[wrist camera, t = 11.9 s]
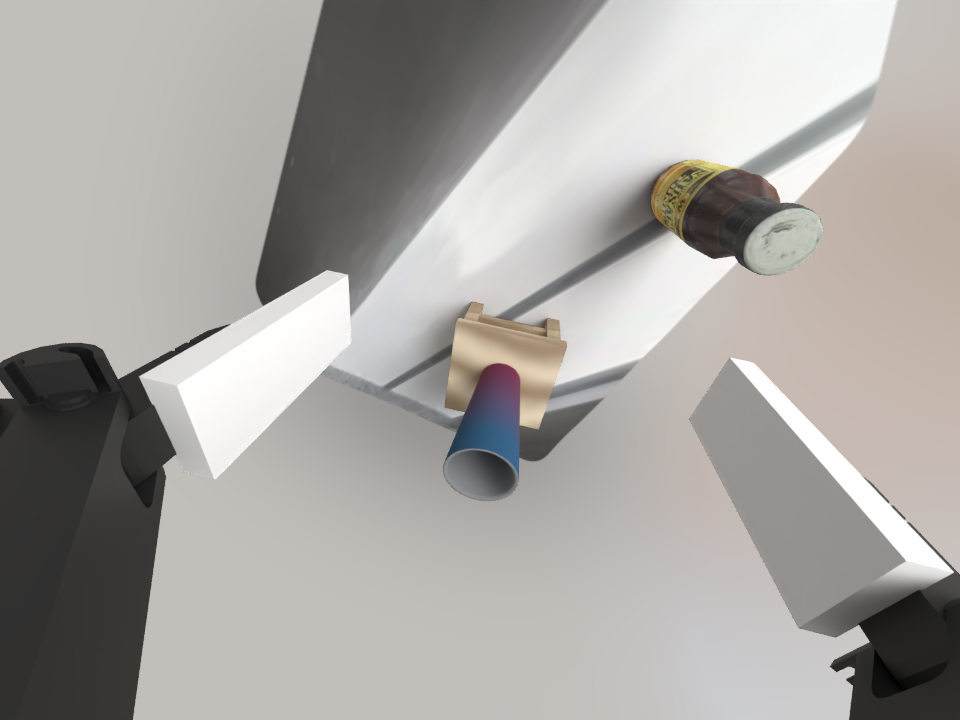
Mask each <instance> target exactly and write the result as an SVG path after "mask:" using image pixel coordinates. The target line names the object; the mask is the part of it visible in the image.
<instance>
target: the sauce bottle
mask: <svg viewBox="0 0 960 720" xmlns="http://www.w3.org/2000/svg"><path fill="white" fill-rule="evenodd" d="M651 209H652V211H653V213H654V215H655V217H656V218H657V219H658V220H659V221H660V222H661V223H662V224H663V225H665V226H666V227H667V228H668V229H670V230H671V231H672V232H673V233H674V234H676V235H677V236H678V237H679V238H680V239H681V240H683V241H684V242H685V243H686V244H687V245H688V246H690V247H692V248H694V249H696V250H697V251H699V252H701V253H703V254H705V255H707V256H708V257H710V258H712V259H717V258H723V257H730V256H735V258H736V259H737V261H738V262H739V263H740V264H741V265H742V266H744V267H745V268H747V269H749V270H751V271H752V272H754V273H757V274H759V275H777V274H781V273H784V272H787V271H789V270H793V269H794V268H795V267H797V266H799V265H801V264H802V263H803V262H804V261H806V260H807V259H808V258H809V257H810V256H811V255H812V254H813V252H814V251H815V249H816V247H817V246H818V244H819V243H820V241H821V238H822V234H823V225H822V223H821V219H820V218H819V217H818V216H817V214H816V213H815V212H813V211H812V210H810V209H808V208H806V207H804V206H802V205H799V204H794V203H780V198H779V196H778V193H777V190H776V189H775V188H774V187H773V186H772V185H771V184H770V183H768V181H767V180H766V179H764V178H762V177H761V176H759V175H756V174H751V173H749V172H747V171H745V170H741V169H737V168H733V167H728V166H724V165H720V164H715V163H710V162H706V161H702V160H686V161H683V162H679V163H677V164H675V165H672V166H670V167H669V168H667V169H666V170H665V171H664V172H663V173H662V175H661V176H660V177H659V178H658V179H657V180H656V182H655V185H654V186H653V188H652V192H651Z"/></svg>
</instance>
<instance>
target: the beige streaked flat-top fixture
mask: <svg viewBox="0 0 960 720" xmlns="http://www.w3.org/2000/svg"><path fill="white" fill-rule="evenodd" d="M482 310H483V304H480V303H476V302H472V303H471V305H470V307H469V309H468V311H467V313H466V315H465V317H464V319H462V318H458V320H457V322H456V327H455V334H454V341H453V349H452V356H451V363H450V371H449V378H448V385H447V393H446V400H445V408H449V409H454V410H458V411H462V412H466V409H467V407H468V404H469V402H470V400H471V397H472V395H473V392H474V390H475V388H476V385H477V383H478V380H479V378H480V376H481V373H482V371H483V370H484V369H485V368H486V367H487V366H489V365H491V364H496V363H502V364H506V365H509V366H511V367H512V368H514V369H515V370H516V371H517V373H518V374H519V376H520V425H522V426H526V427H531V428H535V429H539V426H540V423H541V420H542V417H543V415H544V412H545V409H546V406H547V403H548V400H549V397H550V394H551V392H552V389H553V386H554V383H555V380H556V377H557V374H558V371H559V368H560V366H561V363H562V360H563V357H564V354H565V351H566V348H567V344H566V341H562V340H560V326H559V320H554V319H550V318H547V321H546V324H545V328H540V327H536V326H531V325H527V324H522V323H518V322H513V321H508V320H504V319H499V318H495V317H490V316H485V315H482Z"/></svg>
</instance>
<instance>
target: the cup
mask: <svg viewBox="0 0 960 720" xmlns="http://www.w3.org/2000/svg"><path fill="white" fill-rule="evenodd" d="M519 433H520V376H519V374H518V373H517V371H516V370H515V369H514V368H512V367H511V366H509V365H506V364H502V363H496V364H491V365H489V366H487V367H486V368H485V369H484V370H483V371H482V373H481V376H480V378H479V380H478V383H477V385H476V388H475V390H474V392H473V395H472V397H471V400H470V402H469V404H468V407H467V409H466V412H465V414H464V416H463V419H462V421H461V424H460V426H459V428H458V431H457V433H456V436H455V438H454V440H453V443H452V446H451V448H450V450H449V452H448V455H447V458H446V460H445V462H444V465H443V473H444V477H445V479H446V481H447V482H448V484H449V485H450V486H451V487H452V488H453V489H454V490H455V491H457V492H459V493H460V494H462V495H464V496H466V497H469V498H472V499H476V500H480V501H496V500H500V499H503V498H506V497H508V496H509V495H511V494H512V493H513V492H514V491H515V489H516V488H517V486H518V481H519Z"/></svg>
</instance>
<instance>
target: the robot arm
mask: <svg viewBox="0 0 960 720" xmlns="http://www.w3.org/2000/svg"><path fill="white" fill-rule="evenodd" d="M350 343H351V324H350V304H349V284H348V275H347V274H342V273H337V272H333V271H328V270H327V271H325V272H323V273H321V274H320V275H318V276H316V277H314V278H313V279H311V280H309V281H307V282H305V283H304V284H302V285H300V286H298V287H297V288H295V289H293V290H291V291H290V292H288V293H286V294H284V295H282V296H281V297H279V298H277V299H275V300H274V301H272V302H270V303H268V304H267V305H265V306H263V307H261V308H259V309H258V310H256V311H254V312H252V313H251V314H249V315H247V316H245V317H244V318H242V319H240V320H238V321H236V322H235V323H233V324H229V325H225V326H222V327H219V328H215V329H212V330H209V331H206V332H204V333H203V334H201V335H199V336H197V337H195V338H194V339H192V340H190V342H189V343H184V344H182V345H181V346H179V347H177V348H175V351H170V352H168V353H166V354H164V355H162V356H160V357H159V358H157V359H155V360H153V361H151V362H149V363H148V364H146V365H144V366H142V367H140V368H138V369H137V370H135V371H133V372H131V373H129V374H127V375H126V376H124V377H122V378H120V379H117V377H116V375H115V373H114V371H113V369H112V367H111V365H110V363H109V361H108V359H107V357H106V355H105V353H104V351H103V350H102V349H100V348H99V347H97V346H95V345H91V344H84V343H65V344H64V343H63V344H57V345H50V346H44V347H39V348H36V349H32V350H29V351H25V352H22V353H19V354H17V355H15V356H12V357H10V358H8V359H6V360H3V361H2V362H1V363H0V381H1V382H2V383H3V385H4V386H5V388H6V389H7V390H8V392H9V393H10V394H11V396H12V397H13V398H14V399H0V720H133V713H134V706H135V699H136V692H137V685H138V678H139V670H140V663H141V656H142V647H143V641H144V634H145V626H146V619H147V612H148V604H149V597H150V590H151V582H152V575H153V568H154V560H155V553H156V546H157V538H158V531H159V523H160V516H161V509H162V502H163V495H164V487H165V480H166V475H165V471H164V468H163V465H164V464H165V463H166V462H167V461H169V460H170V459H171V458H172V457H173V456H175V455H176V456H177V459H178V461H179V463H180V465H181V467H182V469H183V472H185V473H189V474H193V475H197V476H201V477H205V478H209V479H213V480H215V479H216V478H217V477H218V476H219V475H220V474H221V473H222V472H223V471H224V470H225V469H226V468H227V467H228V466H229V465H230V464H231V463H232V462H233V461H234V460H235V459H236V458H237V457H238V456H239V455H240V454H241V453H242V452H243V451H244V450H245V449H246V448H247V447H248V446H249V445H250V444H251V443H252V442H253V441H254V440H255V439H256V438H257V437H258V436H259V435H260V434H261V433H262V432H263V431H264V430H265V429H266V428H267V427H268V426H269V425H270V424H271V423H272V422H273V421H274V420H275V419H276V418H277V417H278V416H279V415H280V414H281V413H282V412H283V411H284V410H285V409H286V408H287V407H288V406H289V405H290V404H291V403H292V402H293V401H294V400H295V399H296V398H297V397H298V396H299V395H300V394H301V393H302V392H303V391H304V390H305V389H306V388H307V387H308V386H309V385H310V384H311V383H312V382H313V381H314V380H315V379H316V378H317V377H318V376H319V375H320V374H321V373H322V372H323V371H324V370H325V369H326V368H327V367H328V366H329V365H330V364H331V363H332V362H333V361H334V360H335V359H336V358H337V357H338V356H339V355H340V354H341V353H342V352H343V351H344V350H345V349H346V347H347V346H348V345H349V344H350ZM689 420H690V422H691V424H692V426H693V428H694V429H695V431H696V433H697V435H698V437H699V439H700V441H701V443H702V445H703V447H704V448H705V451H706V452H707V454H708V456H709V458H710V460H711V462H712V464H713V466H714V468H715V470H716V472H717V473H718V475H719V477H720V479H721V481H722V483H723V485H724V487H725V489H726V491H727V493H728V495H729V496H730V498H731V500H732V502H733V504H734V506H735V508H736V510H737V512H738V514H739V516H740V517H741V519H742V521H743V523H744V525H745V527H746V529H747V531H748V533H749V535H750V537H751V539H752V540H753V542H754V544H755V546H756V548H757V550H758V552H759V554H760V556H761V557H762V559H763V561H764V563H765V565H766V567H767V569H768V571H769V573H770V575H771V577H772V578H773V580H774V582H775V584H776V586H777V588H778V590H779V592H780V594H781V596H782V598H783V600H784V602H785V603H786V605H787V607H788V609H789V611H790V613H791V615H792V617H793V619H794V621H795V622H796V624H797V626H798V628H800V629H804V630H808V631H812V632H816V633H820V634H824V635H828V636H832V637H838V636H839V635H841V634H843V633H844V632H847V631H848V630H850V629H852V628H854V627H856V626H857V625H860V627H861V629H862V630H863V632H864V633H865V635H866V636H867V638H868V639H869V641H870V642H869V643H867V644H865V645H864V646H861V647H859V648H857V649H855V650H853V651H851V652H850V653H847V654H845V655H843V656H842V657H839V658H838V659H835V660H834V661H833V663H832V664H831V666H830V667H831V668H832V669H834V670H835V671H836V672H838V671H839V670H842V669H844V668H846V667H852V668H855V675H854V676H852V677H850V678H847V679H846V680H847V681H848V682H849V683H850V684H852V685H853V691H852V700H851V709H850V717H849V720H960V574H959V573H958V572H957V571H956V570H955V569H954V568H953V567H952V566H951V565H950V564H949V563H948V562H947V561H946V560H945V559H944V558H943V557H942V556H941V555H940V554H939V553H938V551H937V550H936V549H935V548H934V547H933V546H932V545H931V544H930V543H929V542H928V541H927V540H926V539H925V538H924V537H923V536H922V535H921V534H920V533H919V532H918V531H917V530H916V529H915V528H914V527H913V526H912V525H911V523H909V522H905V517H904V516H903V515H902V514H901V513H900V512H899V511H898V510H897V509H896V508H895V507H894V506H892V505H889V501H888V500H887V499H886V498H885V497H884V496H883V494H881V493H880V491H879V490H878V489H876V487H875V486H874V485H873V484H872V483H871V482H870V481H868V480H867V479H866V478H864V477H863V476H862V475H860V474H859V473H858V472H857V470H856V469H855V468H854V467H853V466H852V465H851V464H850V463H849V462H848V461H847V460H846V459H845V458H844V457H843V456H842V455H841V454H840V453H839V452H838V451H837V449H836V448H835V447H834V446H833V445H832V444H831V443H830V442H829V441H828V440H827V439H826V438H825V437H824V436H823V435H822V434H821V433H820V432H819V431H818V430H817V429H816V428H815V427H814V426H813V425H812V423H811V422H810V421H809V420H808V419H807V418H806V417H805V416H804V415H803V414H802V413H801V412H800V411H799V410H798V409H797V408H796V407H795V406H794V405H793V404H792V402H790V400H789V399H788V398H787V397H786V396H785V395H784V394H783V393H782V392H781V391H780V390H779V389H778V388H777V387H776V386H775V385H774V384H773V383H772V382H771V381H770V380H769V379H768V377H767V376H766V375H765V374H764V373H763V372H762V371H761V370H760V369H759V368H758V367H757V366H756V365H755V364H754V363H753V362H748V361H743V360H739V359H734V358H729V359H728V361H727V362H726V364H725V365H724V367H723V369H722V370H721V371H720V373H719V375H718V376H717V378H716V379H715V381H714V382H713V384H712V385H711V387H710V388H709V390H708V391H707V393H706V394H705V396H704V397H703V399H702V400H701V402H700V403H699V405H698V406H697V408H696V409H695V411H694V412H693V414H692V416H691V417H690V418H689Z"/></svg>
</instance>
